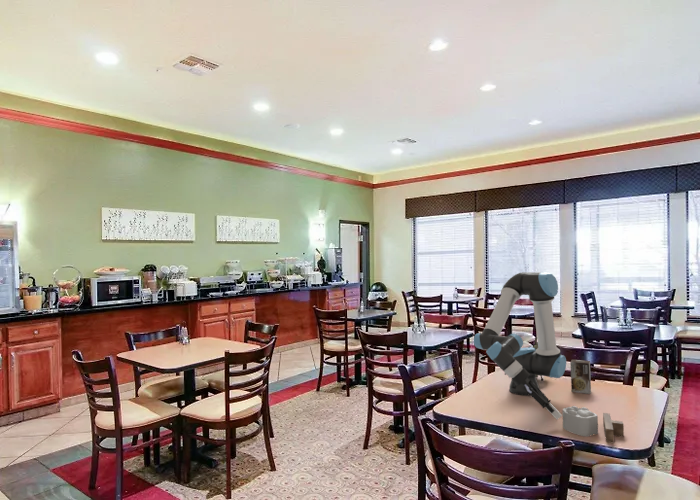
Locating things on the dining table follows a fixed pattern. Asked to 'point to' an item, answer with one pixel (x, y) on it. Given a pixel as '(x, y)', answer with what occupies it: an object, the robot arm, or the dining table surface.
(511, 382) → the robot arm
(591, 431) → the lumpy-topped squat cylinder
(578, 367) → the coffee box
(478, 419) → the dining table surface
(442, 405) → the dining table surface
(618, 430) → the t stop
